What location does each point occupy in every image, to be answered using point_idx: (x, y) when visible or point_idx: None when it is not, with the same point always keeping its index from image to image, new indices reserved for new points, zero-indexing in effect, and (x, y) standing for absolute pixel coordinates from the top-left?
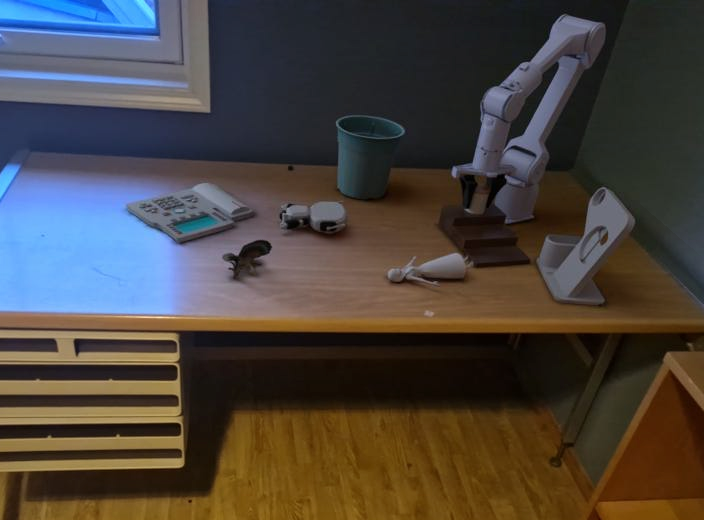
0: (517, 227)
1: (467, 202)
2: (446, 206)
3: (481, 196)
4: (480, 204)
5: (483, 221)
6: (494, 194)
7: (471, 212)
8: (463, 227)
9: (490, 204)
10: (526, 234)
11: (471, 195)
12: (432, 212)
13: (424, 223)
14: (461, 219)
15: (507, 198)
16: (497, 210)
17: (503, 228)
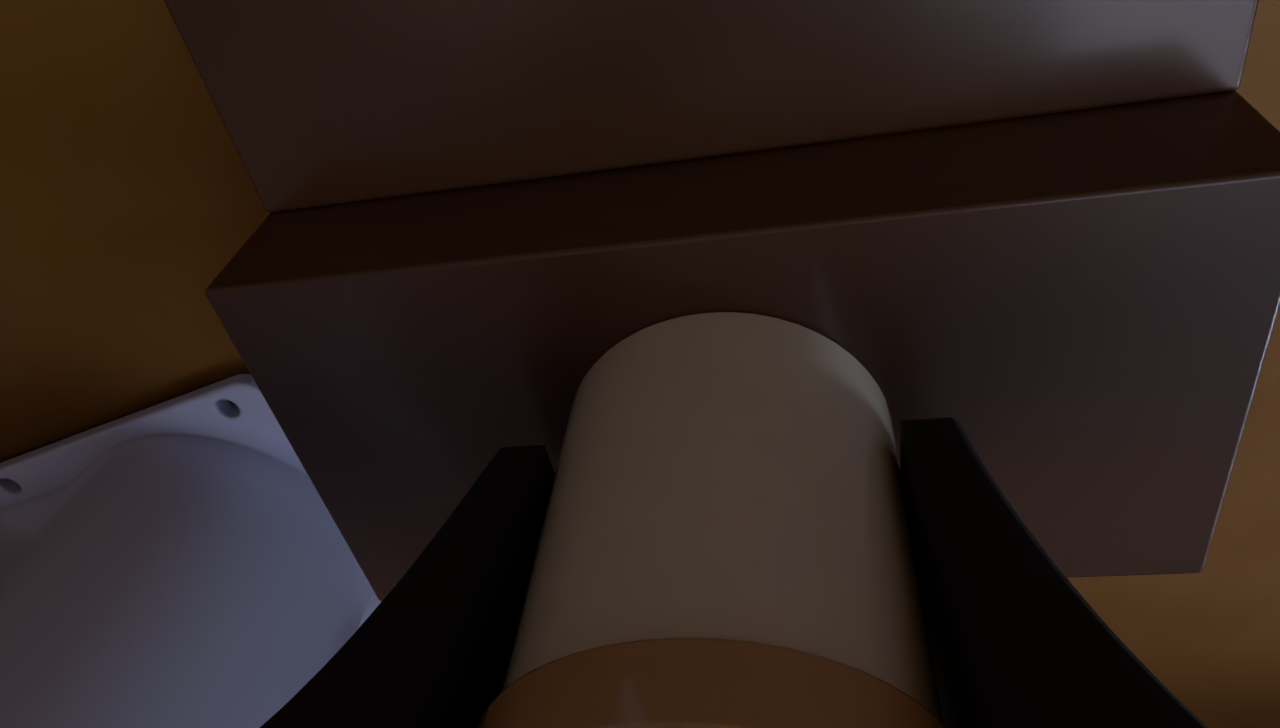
0: (130, 320)
1: (1008, 504)
2: (1157, 543)
3: (738, 600)
4: (720, 444)
5: (625, 197)
6: (385, 653)
7: (841, 354)
8: (1045, 48)
9: (470, 488)
10: (13, 166)
11: (1015, 636)
12: None
13: (1254, 399)
14: (1116, 168)
15: (180, 664)
16: (344, 433)
17: (293, 44)
